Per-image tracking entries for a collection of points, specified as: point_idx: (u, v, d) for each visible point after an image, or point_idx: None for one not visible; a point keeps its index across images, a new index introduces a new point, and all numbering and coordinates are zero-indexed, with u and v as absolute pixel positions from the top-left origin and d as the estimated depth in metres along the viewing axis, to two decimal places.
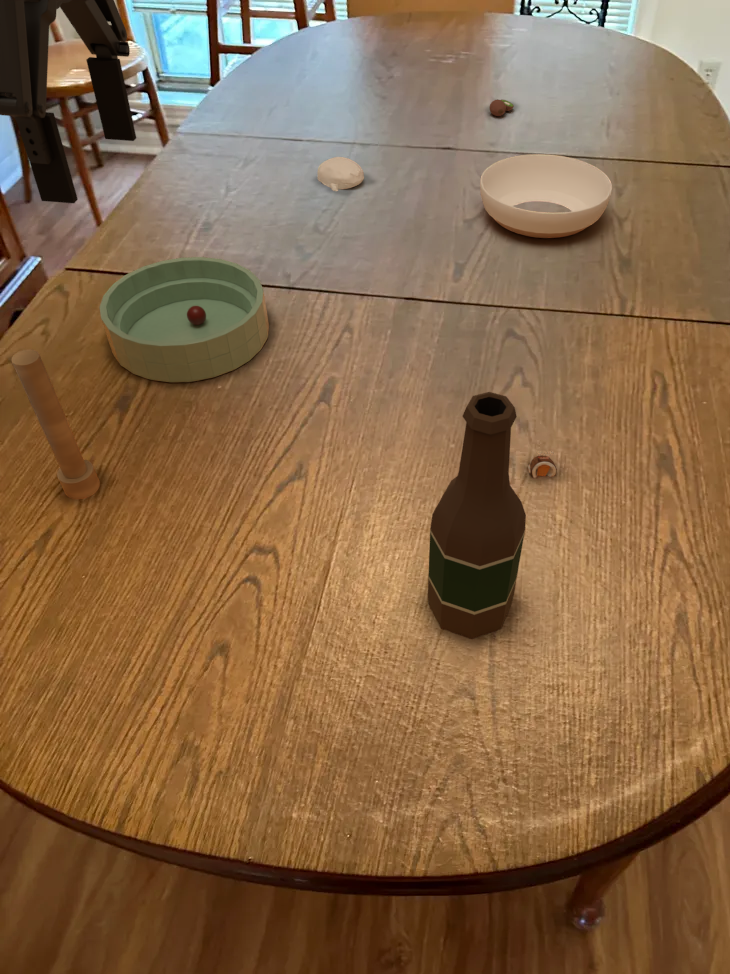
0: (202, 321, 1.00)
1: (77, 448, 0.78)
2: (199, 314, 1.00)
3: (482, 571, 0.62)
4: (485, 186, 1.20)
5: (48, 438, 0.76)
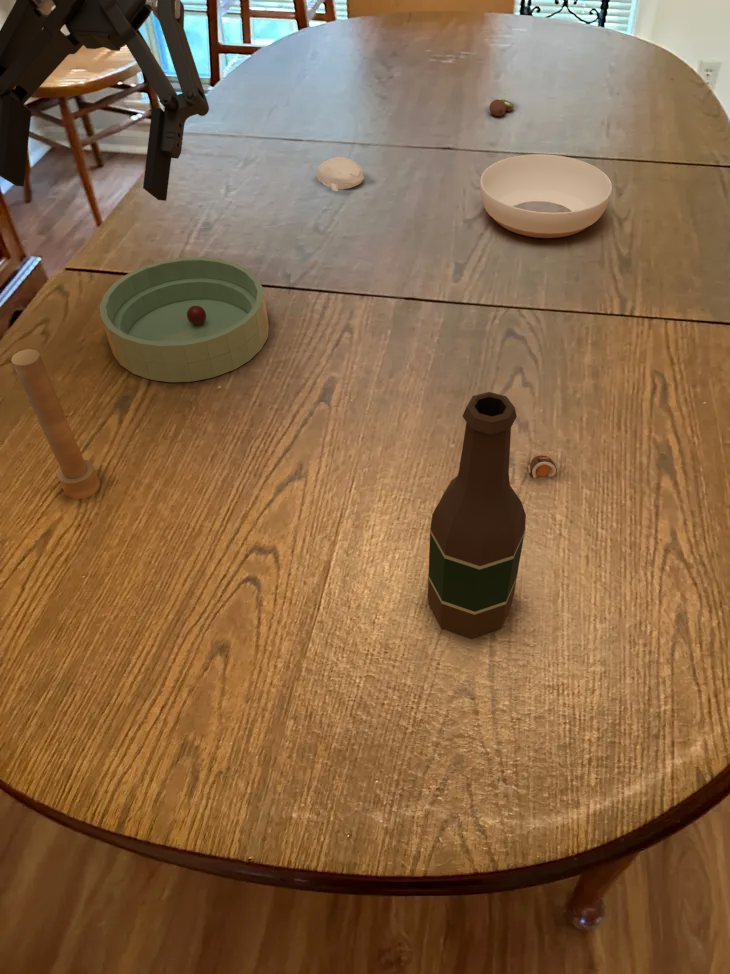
0: (202, 321, 1.00)
1: (77, 448, 0.78)
2: (199, 314, 1.00)
3: (482, 571, 0.62)
4: (485, 186, 1.20)
5: (48, 438, 0.76)
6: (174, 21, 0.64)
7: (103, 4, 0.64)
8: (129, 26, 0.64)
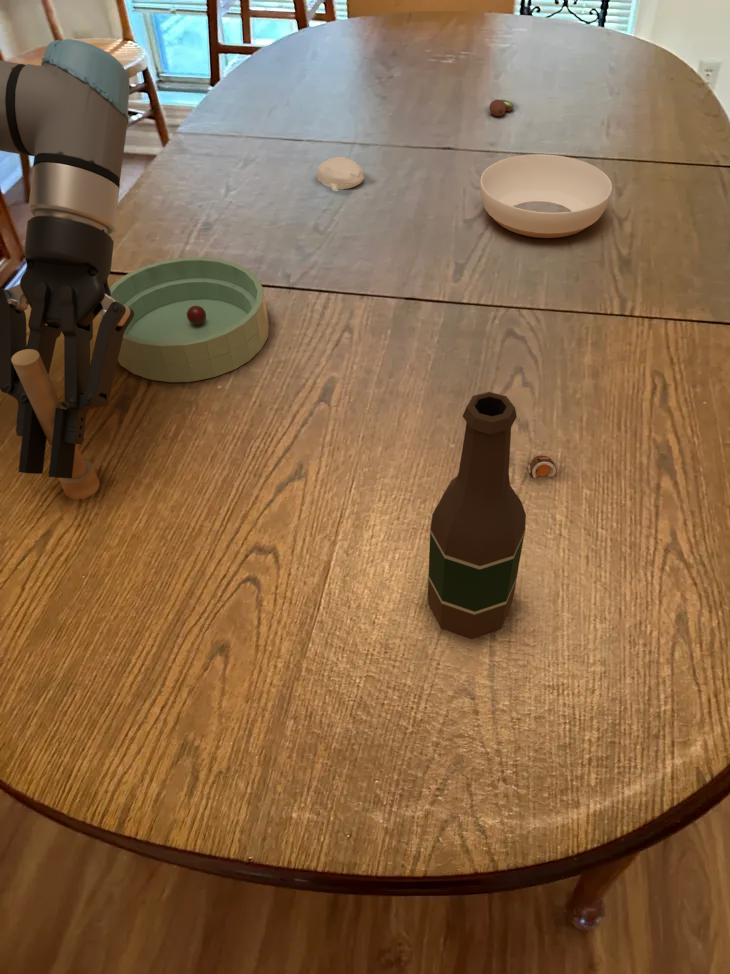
0: (202, 321, 1.00)
1: (77, 448, 0.78)
2: (199, 314, 1.00)
3: (482, 571, 0.62)
4: (485, 186, 1.20)
5: (48, 438, 0.76)
6: (110, 335, 0.73)
7: (66, 300, 0.72)
8: (72, 329, 0.72)
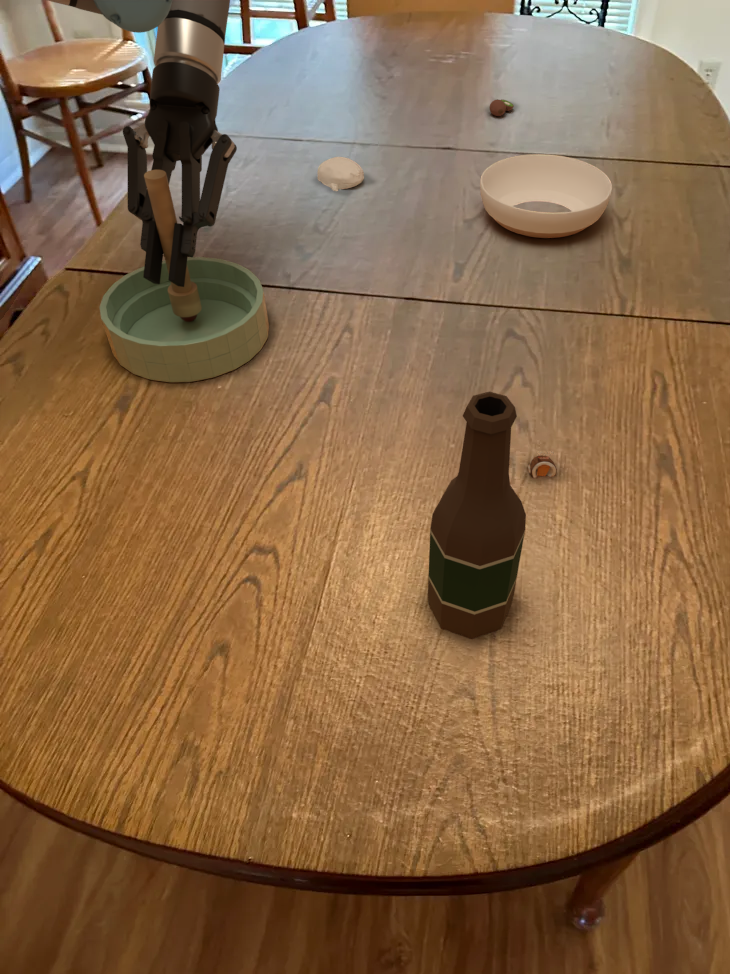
0: None
1: None
2: None
3: (482, 571, 0.62)
4: (485, 186, 1.20)
5: (165, 252, 0.93)
6: (219, 162, 0.90)
7: (184, 133, 0.89)
8: (189, 157, 0.89)
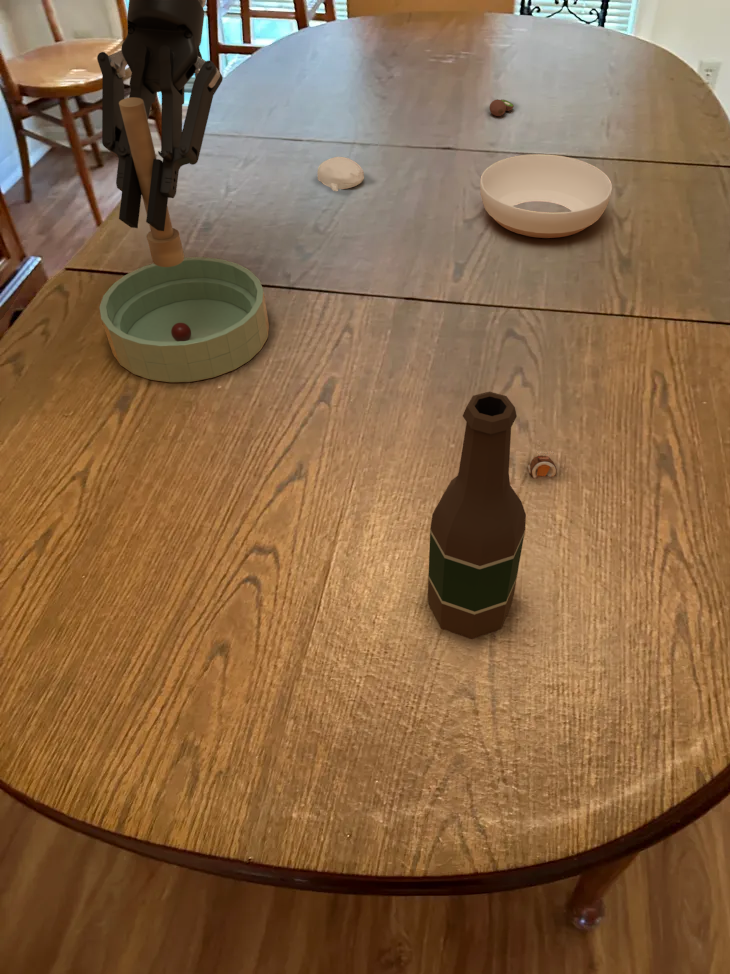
0: None
1: (167, 208, 0.87)
2: None
3: (482, 571, 0.62)
4: (485, 186, 1.20)
5: (144, 192, 0.84)
6: (203, 91, 0.81)
7: (165, 59, 0.81)
8: (169, 85, 0.81)
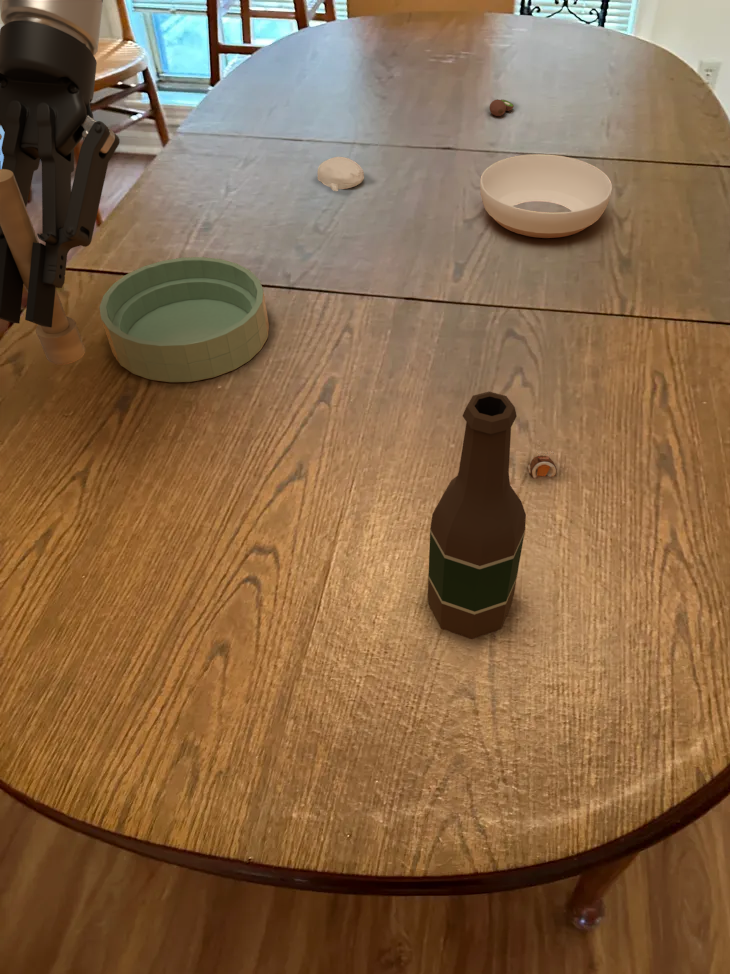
0: None
1: (57, 297, 0.71)
2: None
3: (482, 571, 0.62)
4: (485, 186, 1.20)
5: (25, 281, 0.68)
6: (92, 159, 0.66)
7: (43, 119, 0.65)
8: (50, 152, 0.65)
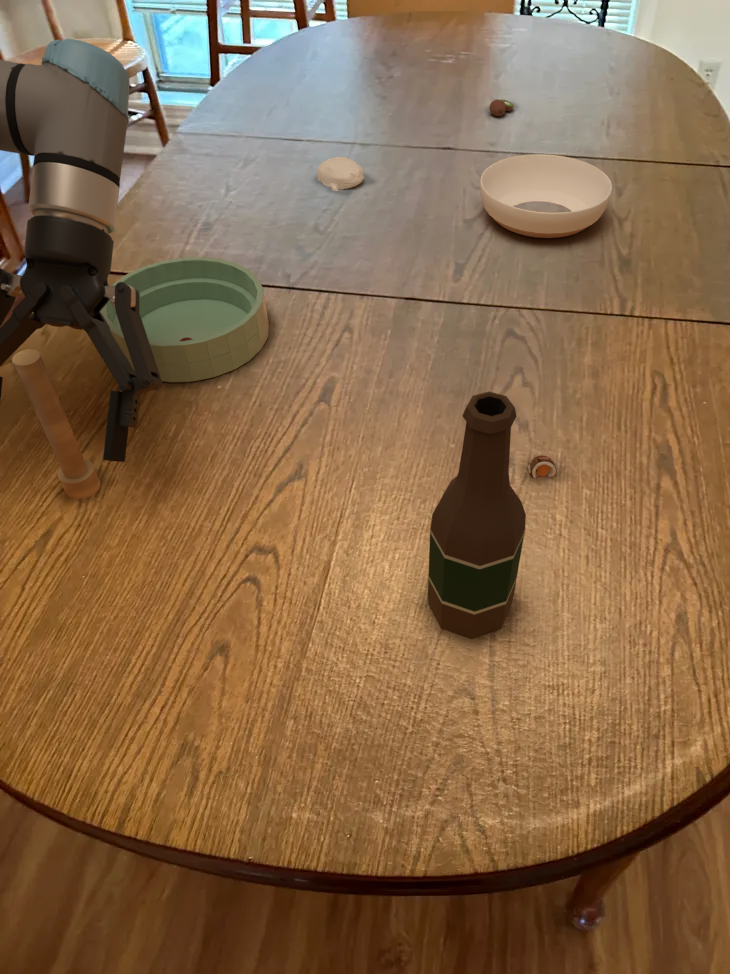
0: None
1: (78, 448, 0.78)
2: None
3: (482, 571, 0.62)
4: (485, 186, 1.20)
5: (49, 438, 0.76)
6: (130, 315, 0.72)
7: (66, 300, 0.72)
8: (89, 319, 0.72)
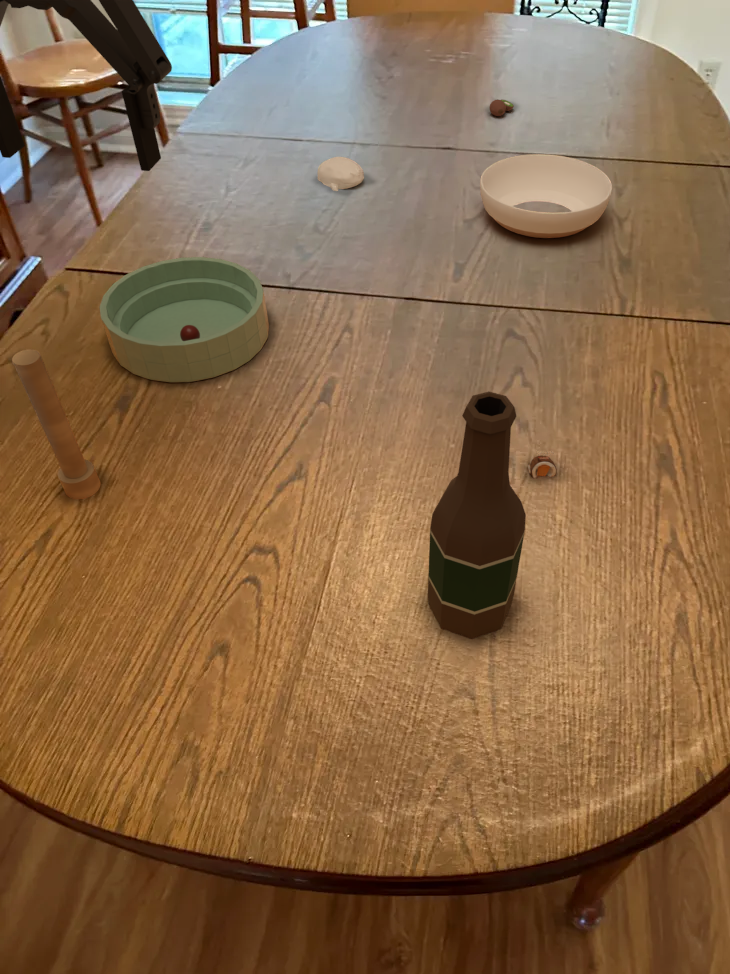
0: None
1: (78, 448, 0.78)
2: None
3: (482, 571, 0.62)
4: (485, 186, 1.20)
5: (49, 438, 0.76)
6: None
7: None
8: (66, 4, 0.61)
